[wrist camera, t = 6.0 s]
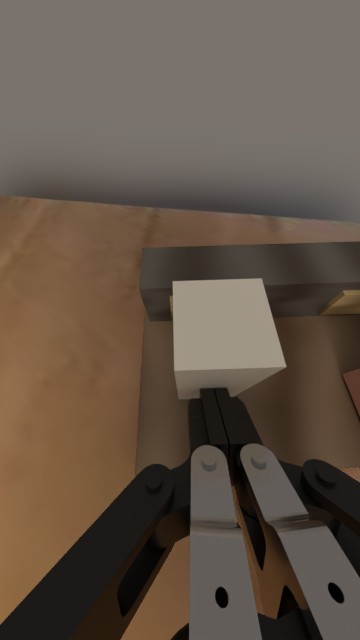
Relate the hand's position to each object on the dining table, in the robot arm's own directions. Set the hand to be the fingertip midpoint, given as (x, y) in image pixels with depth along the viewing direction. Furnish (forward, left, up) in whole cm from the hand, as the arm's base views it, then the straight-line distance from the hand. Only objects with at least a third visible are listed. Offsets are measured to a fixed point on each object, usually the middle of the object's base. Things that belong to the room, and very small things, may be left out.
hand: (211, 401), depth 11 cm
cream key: (+1, +2, -4) cm, 5 cm away
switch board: (+8, +3, -5) cm, 10 cm away
